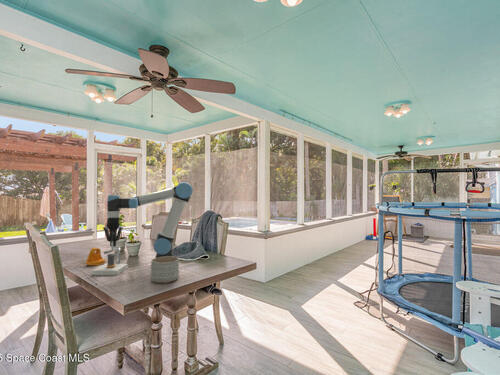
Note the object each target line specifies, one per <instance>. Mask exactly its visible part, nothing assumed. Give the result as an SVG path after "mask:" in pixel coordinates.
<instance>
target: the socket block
mask: <svg viewBox="0 0 500 375" xmlns="http://www.w3.org/2000/svg"><path fill="white" fill-rule="evenodd" d="M114 264H115V266H114V268H108V267H107V265H108V263H103V264H101V265H99V266H98V267H96V268H93V269H92V271H91V272H92V276H118V275H120V274H121V273H123V272H124V271H126V270H127V269H129V263H120V264H116V263H114Z"/></svg>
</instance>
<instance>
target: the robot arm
mask: <svg viewBox="0 0 500 375" xmlns="http://www.w3.org/2000/svg"><path fill="white" fill-rule="evenodd" d="M193 191H194V190H193V186H192V185H191V184H190V183H189V182H187V181H181V182H180V183H178V184H177V185H173V186H172V188H167V189H162V190H159V191H155V192H151V193H150V192H149V193H146V194H141V195H137V196H132V197H120V195H119V194H111V195H110V194H109V195H108V196H107V202H106V203H107V207H106V208H107V212H106V213H107V214H106V217H107V219H106V226H104V227H103V228H102V229H103V231H104V233H105V237H106V241H107V242H109V246H110V247H111V248H110V250H111V252H110V253H112V252H113V253H114V252H116V251H115V248H116V247H117V242H118V241H120V238H121V235H122V231H123V229H124V227H123V226H121V224H120V209H137V208H138V207H139V206H140V207H141V206H144V205H149V204H153V203H156V202H157V203H158V202H161V201H166V200H170V199H173V201H172V204H171V207H170V209H169V210H170V211H169V212H168V215H167V217H166V221H165V222H164V225H163V227H162V230H161V231H160V232H158V233H157V235H156V239H155V241H154V242H153V243H154V244H153V250H154V252H156V254H155V257H154V258H158V257H165V256H173V257H175V256H174V253H173V248H174V247H173V243H174V240H175V232H176V229H177V227H178V224H179V221H180V218H181V216H182V215H183V211H184V208H185V205H186V204H188V203H189V202H190V199H191V196H192V194H193Z"/></svg>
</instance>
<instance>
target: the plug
mask: <svg viewBox="0 0 500 375" xmlns="http://www.w3.org/2000/svg"><path fill="white" fill-rule="evenodd" d="M106 256H107V264H108V265H107V267H108V268H114V266H115V264H116V263H115V257H116V254H115V253H107V254H106Z"/></svg>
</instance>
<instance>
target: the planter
mask: <svg viewBox="0 0 500 375" xmlns="http://www.w3.org/2000/svg"><path fill="white" fill-rule="evenodd" d="M173 256H174V255H173ZM173 256H165V257H158V258H155V257H154V258H152V259H151V260H150V261H151V262H150V263H151V265H150V269H151V270H150V279H151V281H152V282H154V283H156V284H168V283H169V282H170V283H173V282H175V281H176V280H178V279H179V277H180V276H179V275H180V273H179V271H180V270H179V268H180V258H179V257H177V256H174V257H173ZM172 281H173V282H172ZM170 283H169V284H170Z"/></svg>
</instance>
